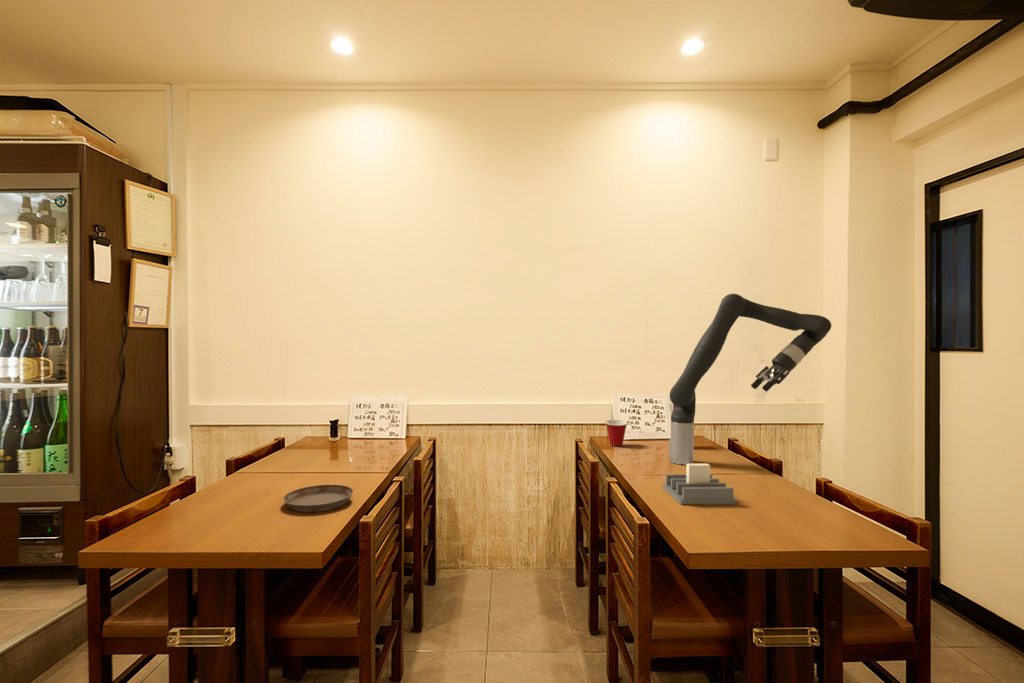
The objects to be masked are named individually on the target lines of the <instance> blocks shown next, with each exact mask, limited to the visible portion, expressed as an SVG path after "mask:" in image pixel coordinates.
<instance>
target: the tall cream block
mask: <svg viewBox="0 0 1024 683" xmlns="http://www.w3.org/2000/svg"><path fill="white" fill-rule="evenodd" d="M685 466H686V467H685V468H686V469H685V470H686V483H710V474H711V465H710V464H709V463H693V464H686V465H685Z"/></svg>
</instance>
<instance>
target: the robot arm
mask: <svg viewBox="0 0 1024 683" xmlns="http://www.w3.org/2000/svg"><path fill="white" fill-rule="evenodd" d="M739 317H741V318H749V319H753V320H756V321H757V320H758V321H761V322H764V323H766V324H769V325H772V326H775V327H778V328H782V329H785V330H790V331H793V332H797V331H801V330H802V332H801V333H800V334H799V335H797V336H796V337H794V338H793V339H792V340H791V342H789V344H787V345H786V346H785V347H784V348H782V349H781V350H780V351H779V353H777V354H776V356H774V357H773V358H772V360H771V363H772V366H770V367H768V366H767V365H766V366H765V367H764V368H762V369H761V370H760V372H758V373H757V374H756V375H755V378H756V379H755V380H754V381H753V382H752V383H751V385H750V387H751V388H752V389H753V390H757V388H759V386H761V385H762V384H763V382H765V381H767V382H766V383H764V384H763V385H762V387H761V389H763V391H764V392H768V391H769V390H770V389H771V388H772V387H773V386H774V385H775V386H776V385H780V384H781V383H782V382H783V381H784V380H785V379H786V378H787V377H788V376H789V374H790V373H791V372H792V371H793V369H795V368H796V367H797V366H798V365H799V364H801V362H802V361H803V359H804V358H805V356H806V355H808V353H809V352H810V351H811V350H813V348H814V347H815V346H816V345H817V344H819V343H820V342H821V341H823V339H824V338H825V337H826V336H827V335H828V333H829V332H830V331H831V329H832V322H831V320H829V319H828V318H827V317H825V316H822V315H819V314H811V313H798V312H795V311H791V310H788V309H784V308H779V307H774V306H770V305H764V304H760V303H757V302H754V301H751V300H749V299H747V298H745V297H743V296H742V295H740V294H738V293H729V294H726V295H724V297H723V298H722V299H721V302H720V304H719V306H718V310H717V311H716V313H715V316H714V318H713V320H712V321H711V323H710V324H709V326H708V328H707V329H706V331H705V332H704V333H703V334H702V335H701V338H700V339H699V341H698V342H697V344H696V346H695V348H694V349H693V351H692V354H690V357H689V360H688V361H687V364H686V366H685V368H684V370H683V372H682V374H681V375H680V377H679V378H678V379H677V381H676V382H675V384H674V385H673V386H672V388H671V389H670V391H669V400H670V402H671V403H672V412H671V415H670V438H669V444H668V445H669V446H668V447H669V448H668V449H669V453H668V455H669V456H668V458H669V461H670V463H672V464H675V463H676V464H677V465H681V464H683V466H684V465H685V466H686V464H695V463H694V461H695V460H694V458H695V457H694V454H695V453H694V448H695V442H694V441H695V439H694V438H695V436H694V435H695V429H694V428H695V416H696V399H697V398H696V388H697V386H698V384H699V383H700V381H701V379H702V378H703V377H704V376H705V374H706V373H707V372H708V371H709V370H710V369H711V368H712V366H713V364H714V363H715V362H716V360H717V359H718V357H719V355H720V353H721V351H722V349H723V347H724V345H725V342H726V340H727V336H728V334H729V333H730V330H731V329H732V327H733V326H734V325H735V322H736V321H737V320H738V318H739Z"/></svg>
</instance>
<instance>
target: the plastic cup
mask: <svg viewBox="0 0 1024 683" xmlns="http://www.w3.org/2000/svg"><path fill="white" fill-rule="evenodd" d="M628 424H629V423H628V421H626V420H624V419H608V420H607V419H606V420H605V425H606V428H607V434H608V435H607V436H608V440H609V445H610V444H611V445H614V446H622V447H623V444H624V439H625V434H626V428H627V426H628Z"/></svg>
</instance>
